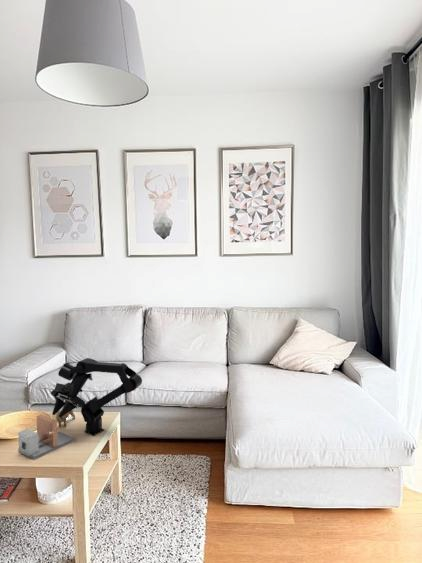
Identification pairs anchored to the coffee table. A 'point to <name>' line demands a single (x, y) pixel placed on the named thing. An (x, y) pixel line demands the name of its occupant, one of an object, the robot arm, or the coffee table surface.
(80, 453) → the coffee table surface
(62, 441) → the base board
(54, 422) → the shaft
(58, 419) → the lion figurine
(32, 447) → the bearing block
